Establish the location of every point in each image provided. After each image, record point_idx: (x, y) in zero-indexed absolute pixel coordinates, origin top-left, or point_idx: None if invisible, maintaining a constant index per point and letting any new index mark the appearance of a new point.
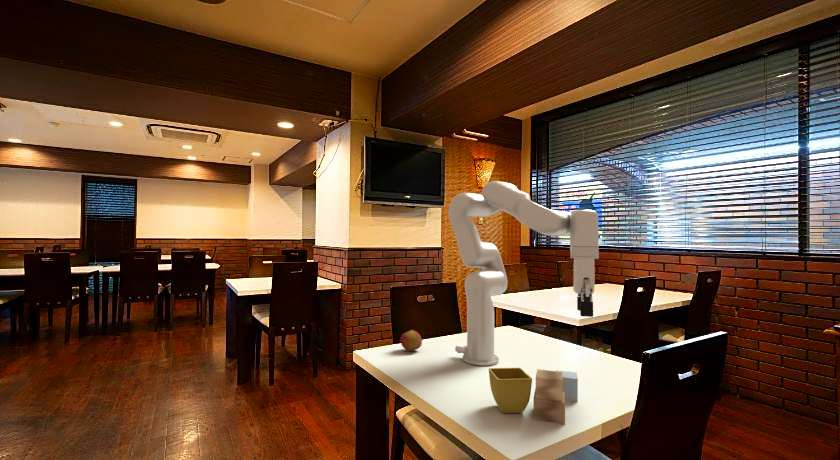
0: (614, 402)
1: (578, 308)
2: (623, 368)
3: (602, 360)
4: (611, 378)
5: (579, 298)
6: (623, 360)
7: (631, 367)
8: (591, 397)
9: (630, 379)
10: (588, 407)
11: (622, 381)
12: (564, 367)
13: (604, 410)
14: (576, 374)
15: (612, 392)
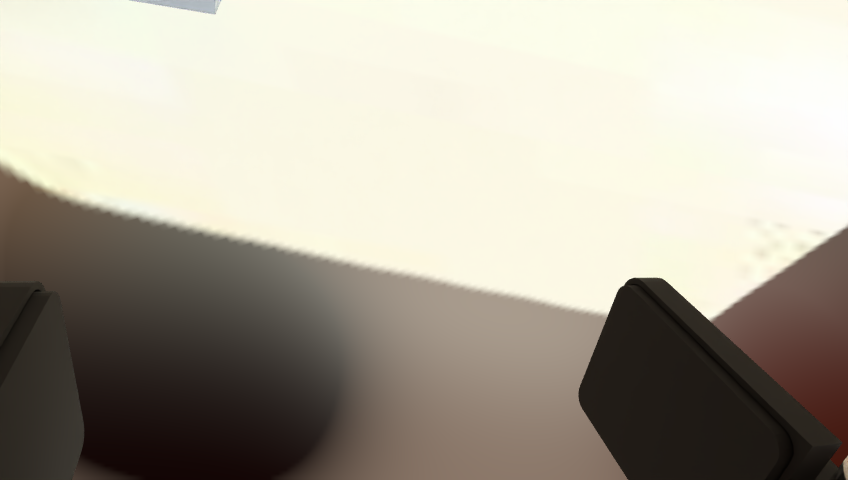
0: (169, 170)
1: (633, 300)
2: None
3: (738, 226)
4: (503, 219)
5: (750, 450)
6: (724, 303)
7: None
8: (199, 69)
9: (498, 288)
10: (19, 16)
11: (469, 255)
12: (662, 14)
13: (19, 98)
14: (162, 1)
15: (311, 188)
